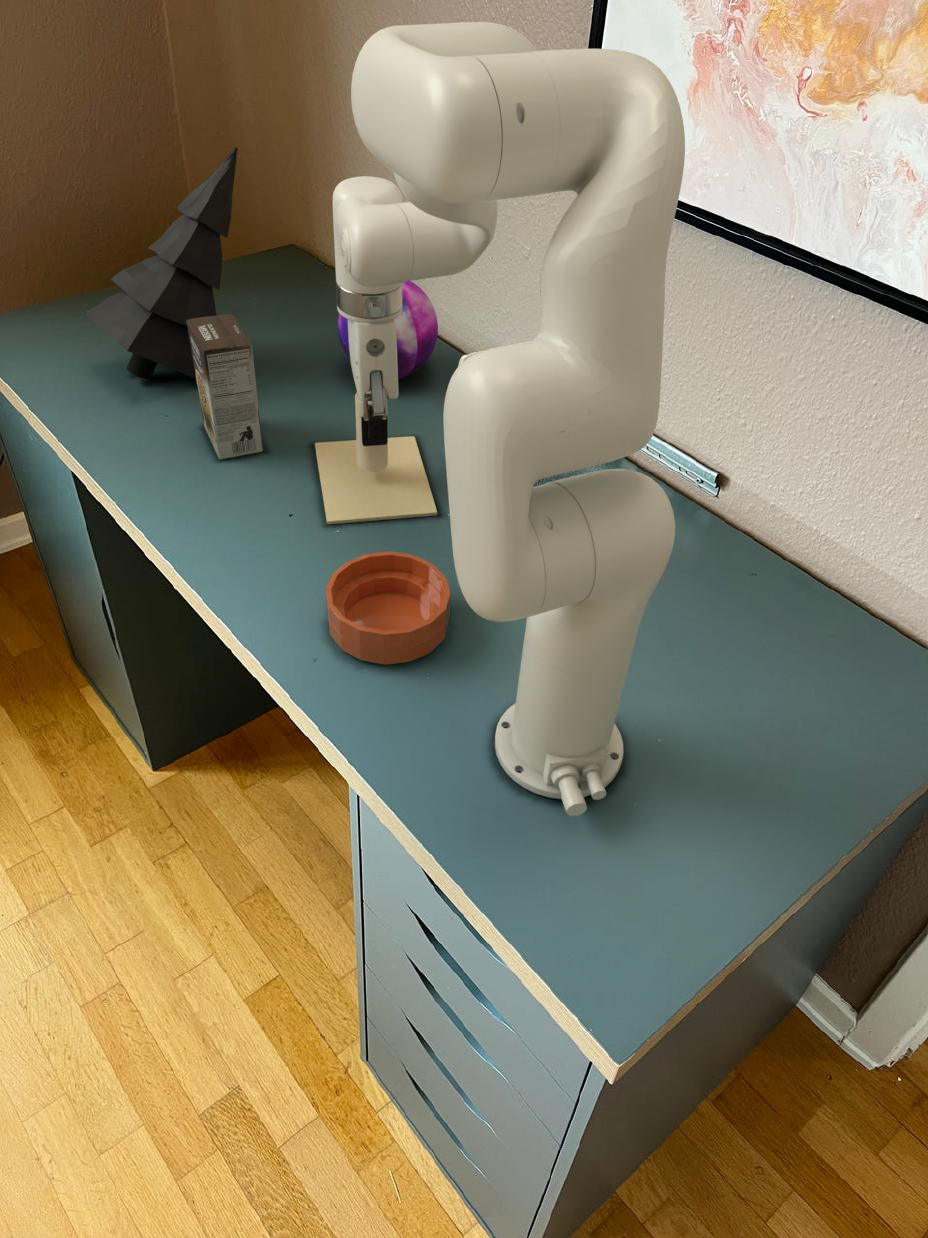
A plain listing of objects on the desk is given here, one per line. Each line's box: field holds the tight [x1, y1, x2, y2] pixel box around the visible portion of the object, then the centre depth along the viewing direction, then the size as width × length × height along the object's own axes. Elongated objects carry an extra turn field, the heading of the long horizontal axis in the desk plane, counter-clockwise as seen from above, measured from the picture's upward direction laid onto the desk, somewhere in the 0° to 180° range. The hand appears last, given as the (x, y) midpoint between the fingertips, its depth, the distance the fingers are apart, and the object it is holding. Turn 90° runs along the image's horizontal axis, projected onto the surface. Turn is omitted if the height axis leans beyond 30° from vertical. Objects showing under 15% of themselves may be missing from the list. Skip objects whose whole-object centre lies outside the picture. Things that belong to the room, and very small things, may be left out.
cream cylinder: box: [354, 391, 389, 472], centre depth 118 cm, size 4×4×10 cm
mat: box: [314, 435, 438, 525], centre depth 122 cm, size 18×14×1 cm
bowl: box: [325, 551, 451, 665], centre depth 101 cm, size 13×13×5 cm
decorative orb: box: [337, 281, 439, 380], centre depth 138 cm, size 15×15×15 cm
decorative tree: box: [84, 146, 239, 381], centre depth 133 cm, size 15×15×35 cm
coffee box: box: [186, 313, 264, 460], centre depth 122 cm, size 9×6×16 cm
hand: (372, 432), depth 118 cm, fingers closed on cream cylinder, 4 cm apart
